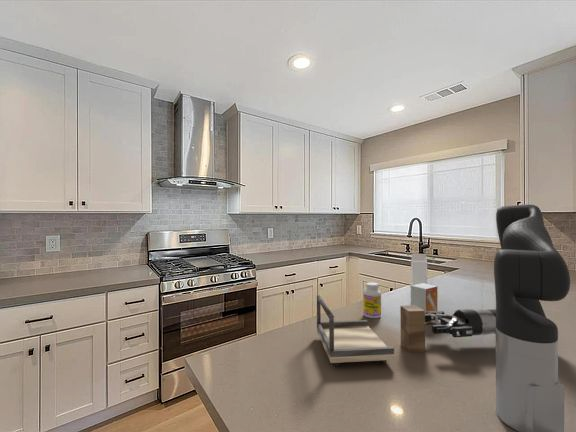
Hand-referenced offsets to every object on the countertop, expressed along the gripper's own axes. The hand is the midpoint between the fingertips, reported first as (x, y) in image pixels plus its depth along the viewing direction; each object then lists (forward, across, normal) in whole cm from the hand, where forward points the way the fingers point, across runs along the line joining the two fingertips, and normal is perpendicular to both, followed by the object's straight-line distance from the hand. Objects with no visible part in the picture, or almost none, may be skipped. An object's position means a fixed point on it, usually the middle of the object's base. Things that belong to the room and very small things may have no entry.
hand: (424, 323), depth 85 cm
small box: (-12, -21, +7) cm, 25 cm away
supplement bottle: (+6, -27, +7) cm, 29 cm away
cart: (+23, 0, +7) cm, 24 cm away
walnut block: (+4, 0, +7) cm, 8 cm away
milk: (-22, -42, +7) cm, 48 cm away
